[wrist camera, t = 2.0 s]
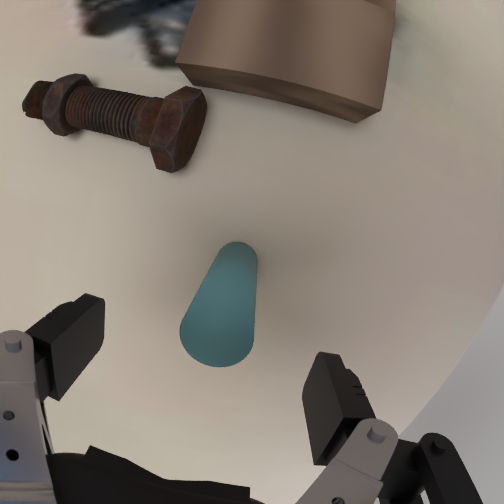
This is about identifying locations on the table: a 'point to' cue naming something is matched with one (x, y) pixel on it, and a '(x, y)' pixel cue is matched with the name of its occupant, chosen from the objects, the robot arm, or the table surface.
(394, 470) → the robot arm
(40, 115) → the bolt
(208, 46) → the walnut hole block
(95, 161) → the table surface
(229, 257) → the teal peg
